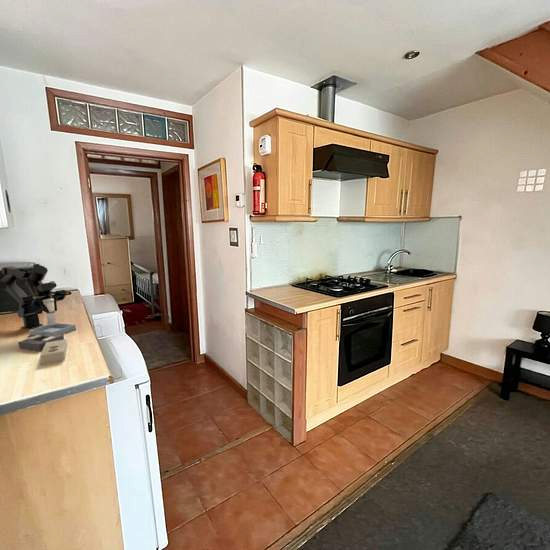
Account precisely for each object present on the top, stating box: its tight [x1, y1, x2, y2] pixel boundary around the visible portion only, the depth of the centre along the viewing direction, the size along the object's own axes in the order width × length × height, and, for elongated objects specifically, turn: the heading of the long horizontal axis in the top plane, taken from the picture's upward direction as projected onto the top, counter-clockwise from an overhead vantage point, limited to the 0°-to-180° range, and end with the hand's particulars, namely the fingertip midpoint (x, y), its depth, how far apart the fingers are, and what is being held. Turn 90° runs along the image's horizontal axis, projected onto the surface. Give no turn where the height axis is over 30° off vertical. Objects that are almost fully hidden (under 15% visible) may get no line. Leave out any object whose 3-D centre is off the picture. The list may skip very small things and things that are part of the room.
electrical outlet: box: [39, 338, 68, 366], centre depth 119 cm, size 7×4×18 cm
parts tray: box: [28, 322, 77, 337], centre depth 145 cm, size 14×12×2 cm
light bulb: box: [44, 298, 58, 325], centre depth 144 cm, size 4×4×12 cm
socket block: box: [18, 333, 65, 352], centre depth 129 cm, size 11×11×3 cm
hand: (52, 311), depth 143 cm, fingers closed on light bulb, 3 cm apart
